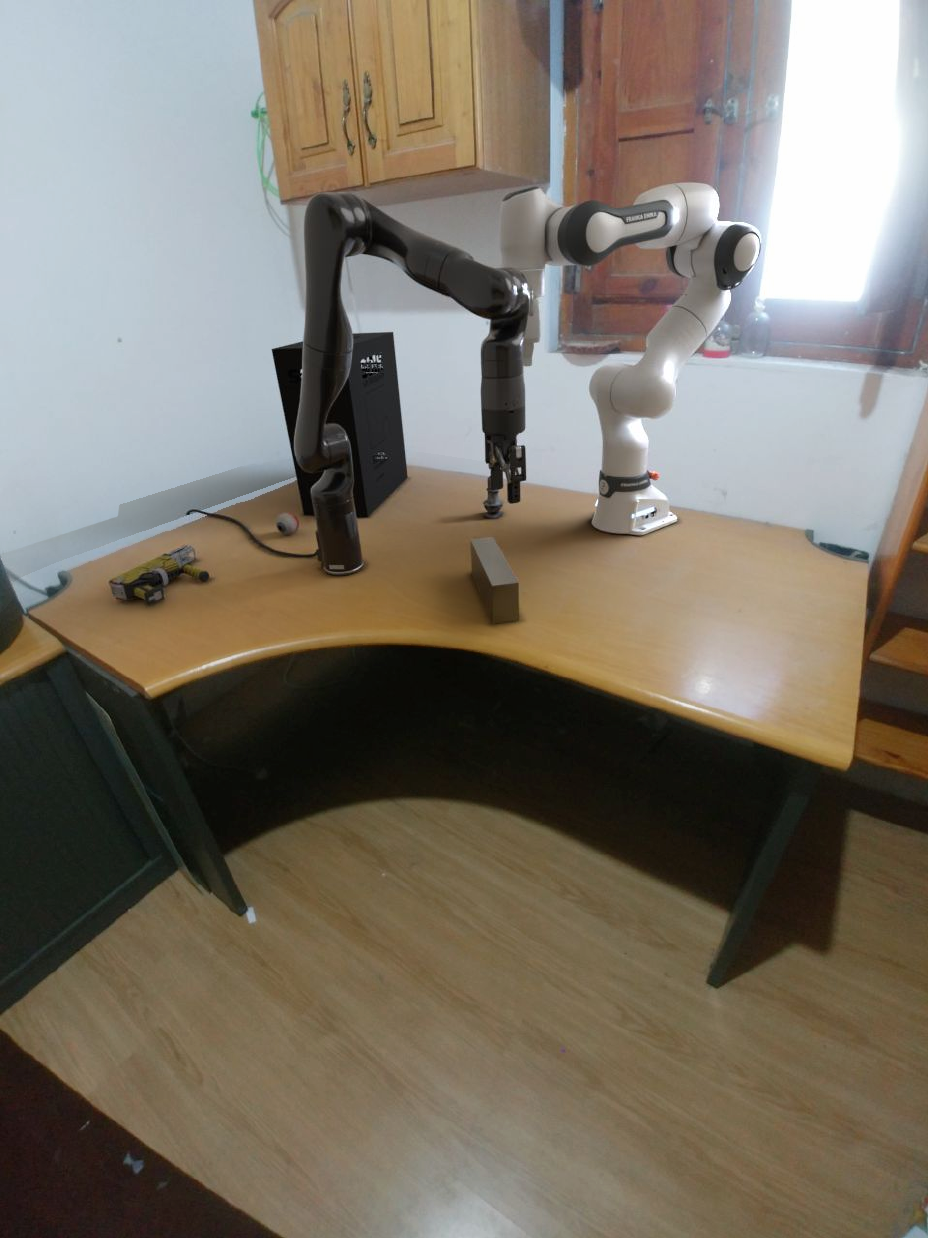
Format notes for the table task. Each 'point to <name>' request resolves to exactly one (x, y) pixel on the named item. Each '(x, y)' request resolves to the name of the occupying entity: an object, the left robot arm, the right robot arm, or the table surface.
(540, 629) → the table surface
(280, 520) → the eyeball
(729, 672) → the table surface
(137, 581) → the toy gun
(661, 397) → the right robot arm
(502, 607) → the bar
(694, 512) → the table surface
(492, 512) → the salt shaker
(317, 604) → the table surface
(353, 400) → the cardboard box
